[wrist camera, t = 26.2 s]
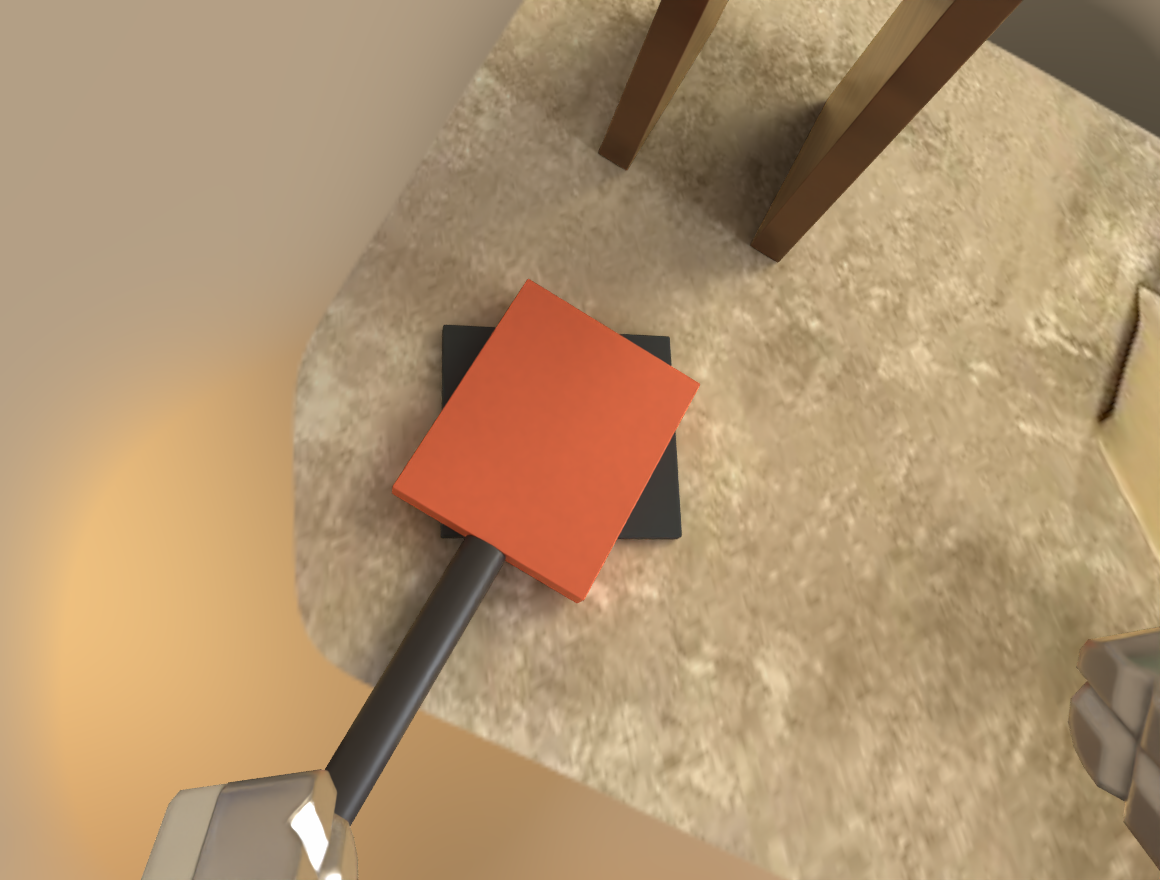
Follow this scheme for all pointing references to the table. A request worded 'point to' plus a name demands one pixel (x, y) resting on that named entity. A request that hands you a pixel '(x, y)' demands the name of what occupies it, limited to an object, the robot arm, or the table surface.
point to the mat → (661, 493)
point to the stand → (850, 115)
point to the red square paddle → (519, 490)
